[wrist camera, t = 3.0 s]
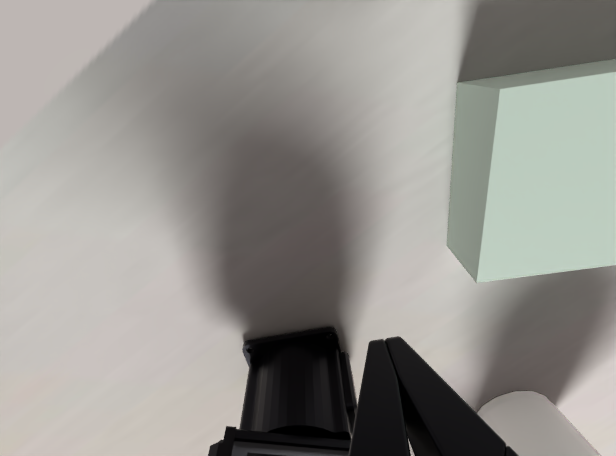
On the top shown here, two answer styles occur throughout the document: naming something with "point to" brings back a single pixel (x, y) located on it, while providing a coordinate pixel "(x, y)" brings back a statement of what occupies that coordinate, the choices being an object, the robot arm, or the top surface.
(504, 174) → the carton
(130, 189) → the top surface
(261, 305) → the top surface
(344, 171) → the top surface
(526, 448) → the foam cup
